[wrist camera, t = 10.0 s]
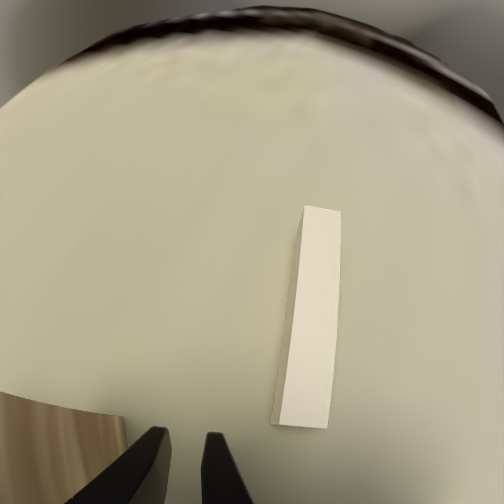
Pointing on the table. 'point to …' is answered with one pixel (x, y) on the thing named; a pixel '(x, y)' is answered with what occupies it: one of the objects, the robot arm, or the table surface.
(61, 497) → the maple domino
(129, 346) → the table surface
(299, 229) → the cream domino
